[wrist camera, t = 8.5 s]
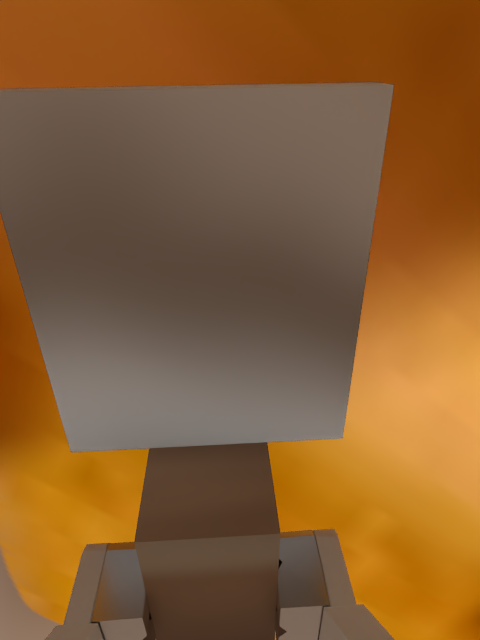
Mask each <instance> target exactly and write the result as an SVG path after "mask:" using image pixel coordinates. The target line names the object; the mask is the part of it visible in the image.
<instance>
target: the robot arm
mask: <svg viewBox="0 0 480 640" xmlns="http://www.w3.org/2000/svg"><path fill="white" fill-rule="evenodd" d="M276 603H277V605H276V613H275V632H276V640H395V639H394V638H393V637H392V636H391V635H390V634H389V633H388V631H387V630H386V629H385V628H384V627H383V626H382V625H381V624H380V623H379V621H378V620H377V619H376V618H375V617H374V616H373V615H372V614H371V613H370V611H369V610H368V609H367V608H366V607H365V606H364V605H363V604H362V605H357V604H356V601H355V597H354V593H353V590H352V586H351V582H350V579H349V575H348V571H347V568H346V564H345V560H344V557H343V553H342V549H341V546H340V542H339V538H338V534H337V533H336V531H335V530H334V529H321V530H302V531H289V532H280V550H279V568H278V582H277V594H276ZM45 640H156V634H155V629H154V624H153V620H152V619H151V614H150V606H149V602H148V598H147V594H146V591H145V588H144V583H143V579H142V574H141V570H140V565H139V561H138V556H137V552H136V548H135V543H134V542H123V543H100V544H87V545H86V547H85V549H84V551H83V553H82V556H81V560H80V564H79V568H78V572H77V575H76V579H75V583H74V587H73V590H72V594H71V598H70V602H69V606H68V609H67V613H66V617H65V621H64V624H63V625H58V626H56V627H55V628H54V629H53V631H52V632H51V633H50V634H49V635H48V637H47V638H46V639H45Z"/></svg>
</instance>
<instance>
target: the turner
mask: <svg viewBox="0 0 480 640" xmlns="http://www.w3.org/2000/svg"><path fill="white" fill-rule="evenodd" d="M393 89H394V84H387V83H379V82H354V83H297V84H241V85H184V86H127V87H71V88H14V89H0V213H1V216H2V220H3V223H4V226H5V230H6V233H7V237H8V240H9V243H10V247H11V250H12V254H13V257H14V260H15V264H16V267H17V271H18V274H19V277H20V281H21V284H22V288H23V291H24V294H25V298H26V301H27V304H28V308H29V311H30V315H31V318H32V321H33V325H34V328H35V332H36V335H37V338H38V342H39V345H40V349H41V352H42V355H43V359H44V362H45V366H46V369H47V372H48V376H49V379H50V382H51V386H52V389H53V393H54V396H55V399H56V403H57V406H58V410H59V413H60V416H61V420H62V423H63V427H64V430H65V433H66V437H67V440H68V444H69V447H70V450H71V452H88V451H107V450H127V449H146V448H149V454H148V460H147V467H146V473H145V479H144V485H143V492H142V498H141V504H140V510H139V517H138V523H137V529H136V536H135V542H134V543H135V548H136V552H137V556H138V561H139V565H140V570H141V574H142V579H143V583H144V588H145V591H146V594H147V598H148V602H149V606H150V614H151V619H152V620H153V624H154V629H155V634H156V640H275V613H276V605H277V603H276V594H277V582H278V568H279V550H280V528H279V521H278V514H277V507H276V500H275V493H274V486H273V480H272V473H271V466H270V459H269V452H268V445H267V442H282V441H301V440H321V439H340V438H343V432H344V425H345V418H346V412H347V405H348V398H349V391H350V384H351V377H352V370H353V363H354V357H355V350H356V343H357V336H358V329H359V322H360V315H361V309H362V302H363V295H364V288H365V281H366V274H367V267H368V261H369V254H370V247H371V240H372V233H373V226H374V219H375V212H376V206H377V199H378V192H379V185H380V178H381V171H382V164H383V158H384V151H385V144H386V137H387V130H388V123H389V116H390V110H391V103H392V96H393Z"/></svg>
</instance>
